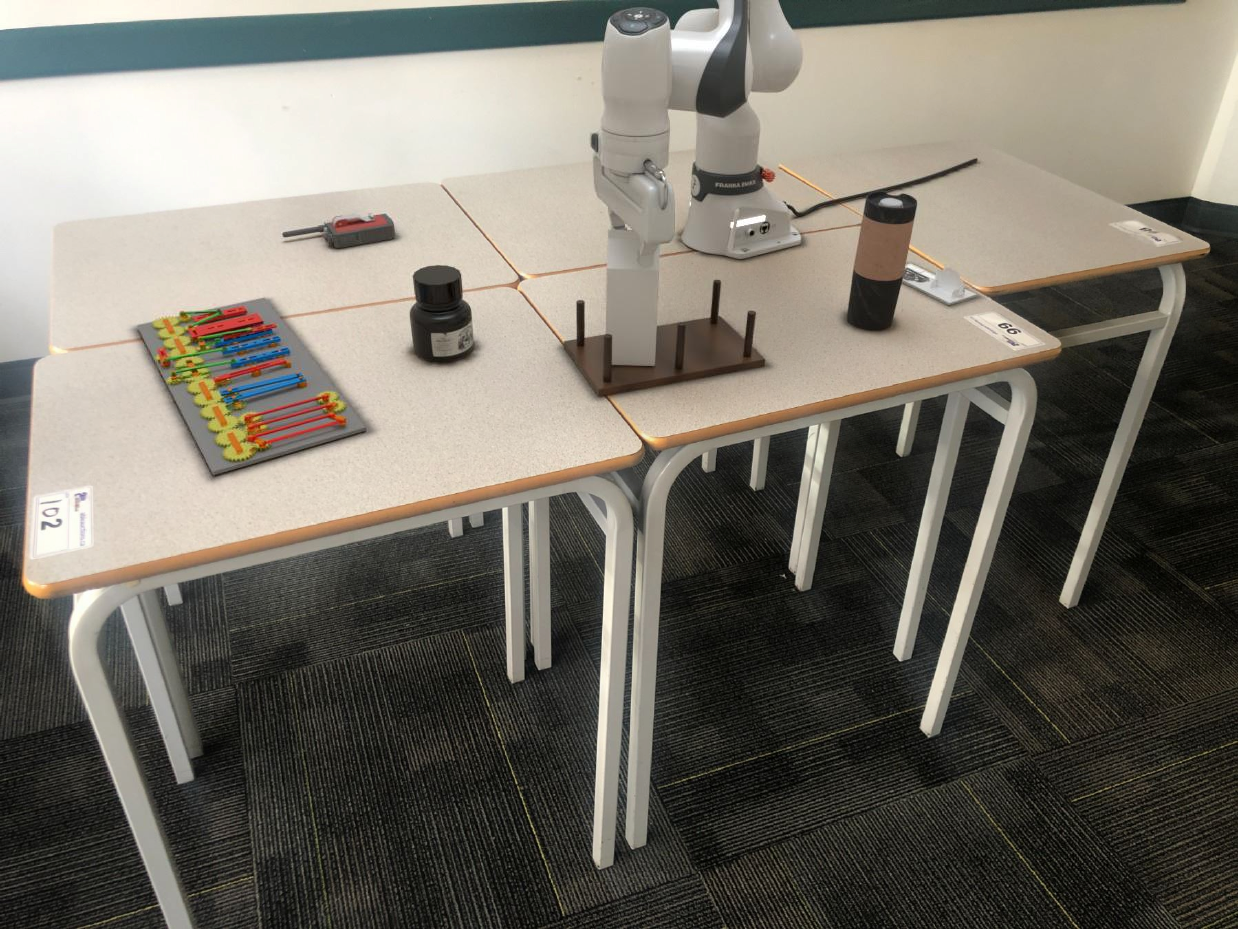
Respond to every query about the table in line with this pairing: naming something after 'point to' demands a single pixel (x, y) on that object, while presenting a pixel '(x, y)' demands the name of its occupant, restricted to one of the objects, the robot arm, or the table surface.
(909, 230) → the travel mug
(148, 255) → the table surface
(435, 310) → the ink bottle
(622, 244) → the milk carton
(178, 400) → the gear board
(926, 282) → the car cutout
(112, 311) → the table surface
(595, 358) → the peg rack
